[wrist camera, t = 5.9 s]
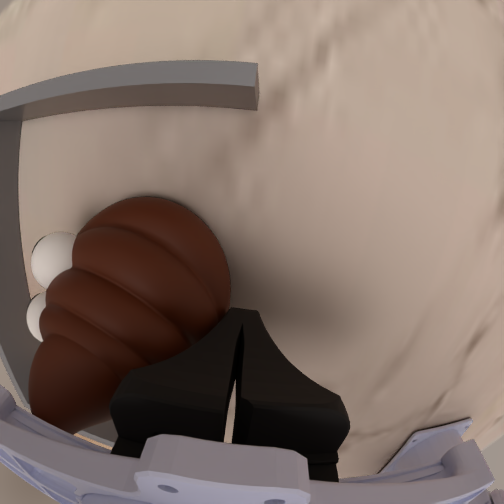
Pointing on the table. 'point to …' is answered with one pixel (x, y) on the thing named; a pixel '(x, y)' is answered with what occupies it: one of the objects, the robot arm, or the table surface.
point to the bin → (80, 99)
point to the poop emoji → (119, 304)
